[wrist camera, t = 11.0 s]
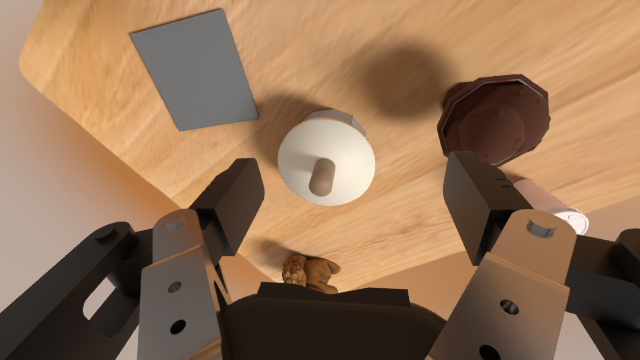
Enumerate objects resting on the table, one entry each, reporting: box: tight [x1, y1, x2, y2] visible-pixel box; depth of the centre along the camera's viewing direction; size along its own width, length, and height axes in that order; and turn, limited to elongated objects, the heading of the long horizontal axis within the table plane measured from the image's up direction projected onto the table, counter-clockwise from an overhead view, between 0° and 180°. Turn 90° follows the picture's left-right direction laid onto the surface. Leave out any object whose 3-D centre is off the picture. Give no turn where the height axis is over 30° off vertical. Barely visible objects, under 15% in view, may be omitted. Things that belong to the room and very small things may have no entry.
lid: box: [278, 117, 375, 206], centre depth 35 cm, size 14×14×6 cm
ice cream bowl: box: [437, 74, 551, 168], centre depth 30 cm, size 11×11×15 cm
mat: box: [130, 9, 260, 131], centre depth 40 cm, size 15×15×1 cm
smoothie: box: [513, 179, 589, 235], centre depth 36 cm, size 6×6×14 cm
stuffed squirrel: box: [282, 255, 340, 294], centre depth 55 cm, size 10×14×13 cm
